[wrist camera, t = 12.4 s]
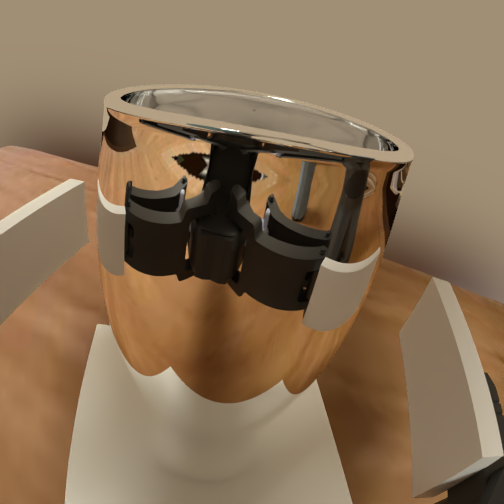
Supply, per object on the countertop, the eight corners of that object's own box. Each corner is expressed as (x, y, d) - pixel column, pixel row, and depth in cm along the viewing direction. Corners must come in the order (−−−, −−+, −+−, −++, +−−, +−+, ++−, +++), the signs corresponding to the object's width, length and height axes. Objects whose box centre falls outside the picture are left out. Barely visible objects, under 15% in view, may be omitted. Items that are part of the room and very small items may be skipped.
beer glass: (292, 467, 13) (483, 182, 5) (156, 502, 10) (57, 142, 2) (243, 367, 18) (313, 100, 10) (128, 386, 15) (105, 81, 7)
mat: (298, 344, 22) (302, 335, 21) (351, 532, 11) (359, 529, 10) (99, 333, 19) (97, 323, 19) (70, 538, 8) (63, 536, 7)
